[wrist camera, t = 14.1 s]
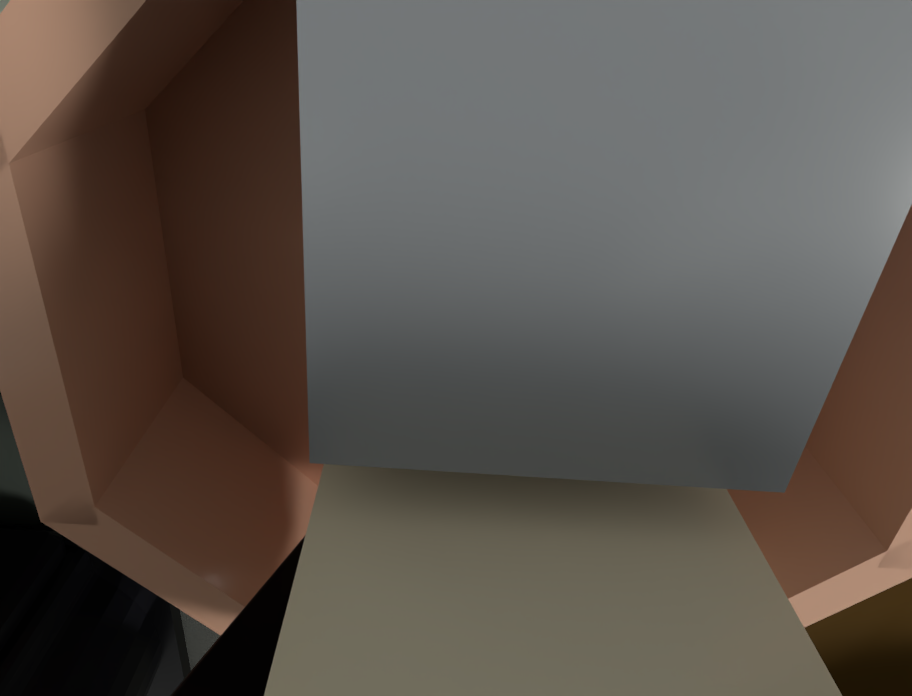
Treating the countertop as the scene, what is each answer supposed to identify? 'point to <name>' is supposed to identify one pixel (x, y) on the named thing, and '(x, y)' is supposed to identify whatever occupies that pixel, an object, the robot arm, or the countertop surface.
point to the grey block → (593, 229)
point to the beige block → (534, 592)
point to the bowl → (276, 318)
